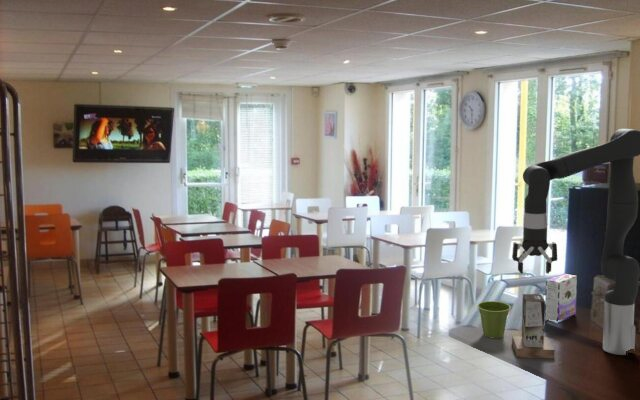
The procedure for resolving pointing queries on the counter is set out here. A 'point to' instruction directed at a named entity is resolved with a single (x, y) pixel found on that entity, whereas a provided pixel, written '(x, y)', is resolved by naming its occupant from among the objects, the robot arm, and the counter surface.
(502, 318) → the plant pot
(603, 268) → the robot arm
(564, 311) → the candy box
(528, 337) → the coffee box
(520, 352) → the light brown flat block
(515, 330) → the counter surface
